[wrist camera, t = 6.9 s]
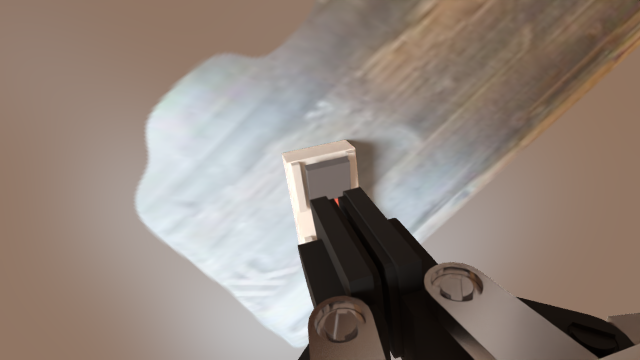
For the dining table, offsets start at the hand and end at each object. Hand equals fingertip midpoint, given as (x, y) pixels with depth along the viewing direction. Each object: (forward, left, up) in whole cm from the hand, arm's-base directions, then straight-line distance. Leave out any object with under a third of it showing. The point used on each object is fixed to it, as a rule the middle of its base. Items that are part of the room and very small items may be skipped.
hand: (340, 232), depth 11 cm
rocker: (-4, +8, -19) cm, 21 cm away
